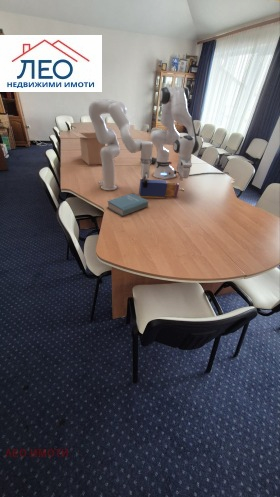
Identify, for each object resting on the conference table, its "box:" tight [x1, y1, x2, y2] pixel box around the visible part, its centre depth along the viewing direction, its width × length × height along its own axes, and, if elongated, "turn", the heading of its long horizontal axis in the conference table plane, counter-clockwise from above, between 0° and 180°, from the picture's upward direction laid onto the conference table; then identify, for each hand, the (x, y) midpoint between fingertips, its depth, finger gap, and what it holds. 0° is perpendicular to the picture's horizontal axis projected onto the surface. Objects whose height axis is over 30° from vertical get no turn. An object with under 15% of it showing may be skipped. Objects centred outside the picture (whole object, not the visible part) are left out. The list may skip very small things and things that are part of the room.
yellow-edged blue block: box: [138, 178, 168, 199], centre depth 167 cm, size 20×6×12 cm, turn 97°
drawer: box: [165, 182, 185, 198], centre depth 169 cm, size 23×5×10 cm, turn 97°
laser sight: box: [139, 156, 157, 165], centre depth 240 cm, size 10×22×10 cm, turn 78°
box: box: [70, 129, 106, 166], centre depth 229 cm, size 44×36×27 cm
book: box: [107, 192, 149, 217], centre depth 151 cm, size 23×16×5 cm
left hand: (144, 185), depth 165 cm, fingers closed on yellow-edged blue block, 6 cm apart
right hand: (180, 180), depth 166 cm, fingers closed
